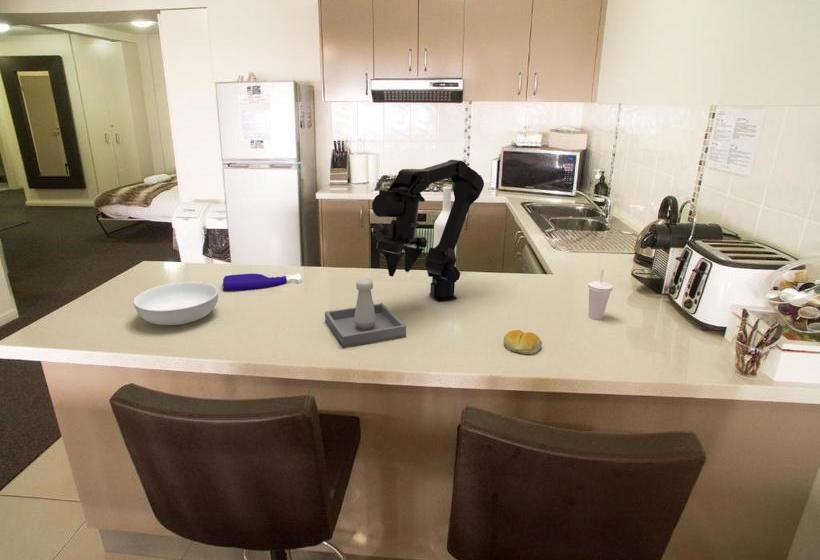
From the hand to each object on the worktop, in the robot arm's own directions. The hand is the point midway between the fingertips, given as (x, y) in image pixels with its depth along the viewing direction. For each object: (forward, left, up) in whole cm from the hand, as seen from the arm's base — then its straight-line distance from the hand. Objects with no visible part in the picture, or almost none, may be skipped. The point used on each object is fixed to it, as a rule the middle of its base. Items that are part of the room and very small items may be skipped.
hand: (399, 273), depth 136 cm
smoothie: (-50, +23, -12) cm, 57 cm away
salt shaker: (+12, +6, -11) cm, 18 cm away
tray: (+13, +6, -12) cm, 18 cm away
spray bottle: (+32, -40, -13) cm, 52 cm away
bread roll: (-20, +30, -12) cm, 38 cm away
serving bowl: (+57, -20, -12) cm, 61 cm away
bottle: (-29, -29, -12) cm, 43 cm away
